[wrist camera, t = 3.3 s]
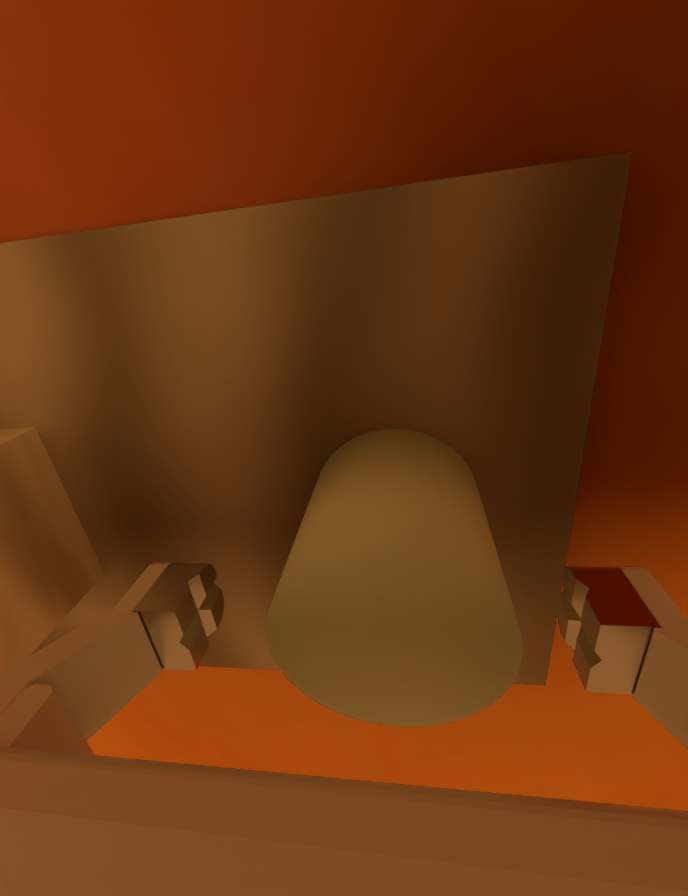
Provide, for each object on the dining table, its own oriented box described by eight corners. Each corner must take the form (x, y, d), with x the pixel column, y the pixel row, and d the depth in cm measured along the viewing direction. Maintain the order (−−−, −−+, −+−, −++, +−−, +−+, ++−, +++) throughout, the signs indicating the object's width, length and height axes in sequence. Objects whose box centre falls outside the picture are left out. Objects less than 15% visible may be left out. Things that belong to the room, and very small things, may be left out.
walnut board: (599, 164, 9) (632, 151, 8) (533, 649, 16) (545, 685, 15) (-251, 285, 14) (-322, 289, 12) (-17, 625, 20) (-46, 651, 19)
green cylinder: (481, 424, 11) (535, 551, 6) (475, 565, 13) (513, 735, 8) (304, 432, 12) (241, 549, 7) (326, 563, 14) (287, 717, 9)
